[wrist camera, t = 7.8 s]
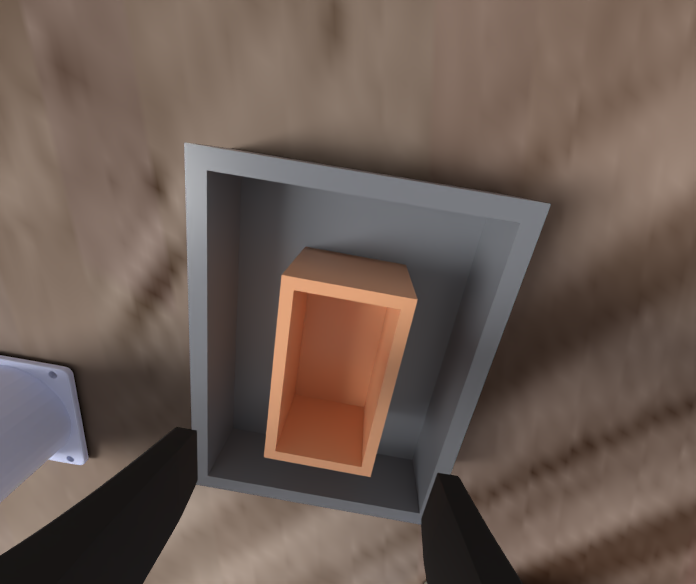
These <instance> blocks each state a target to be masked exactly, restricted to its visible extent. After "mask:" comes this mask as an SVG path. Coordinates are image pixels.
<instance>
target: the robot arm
mask: <svg viewBox="0 0 696 584" xmlns="http://www.w3.org/2000/svg"><path fill="white" fill-rule="evenodd" d="M88 458H89V457H88V451H87V446H86V440H85V435H84V430H83V424H82V419H81V413H80V408H79V402H78V397H77V391H76V386H75V380H74V375H73V372H72V370H71V369H69V368H68V367H65V366H59V365H54V364H48V363H42V362H37V361H31V360H25V359H19V358H14V357H8V356H2V355H0V503H1V502H2V501H3V500H4V499H5V498H6V497H7V496H8V495H9V494H11V493H12V492H13V491H14V490H15V489H16V488H17V487H18V486H19V485H21V484H22V483H23V482H24V481H25V480H26V479H27V478H28V477H29V476H31V475H32V474H33V473H34V472H35V471H36V470H37V469H38V468H39V467H41V466H42V465H43V464H44V463H45V462H46V461H47V460H54V461H59V462H65V463H70V464H76V465H83V464H84V463H85V462H86V461H87V460H88ZM197 481H198V461H197V430H191V429H185V428H180V427H176V428H175V429H173V430H172V431H171V432H169V433H168V434H167V435H166V436H164V437H163V438H162V439H161V440H159V441H158V442H157V443H156V444H154V445H153V446H152V447H151V448H149V449H148V450H147V451H146V452H144V453H143V454H142V455H141V456H139V457H138V458H137V459H136V460H134V461H133V462H132V463H130V464H129V465H128V466H127V467H125V468H124V469H123V470H121V471H120V472H119V473H117V474H116V475H115V476H114V477H112V478H111V479H110V480H108V481H107V482H106V483H104V484H103V485H102V486H100V487H99V488H98V489H96V490H95V491H94V492H92V493H91V494H90V495H88V496H87V497H86V498H84V499H83V500H81V501H80V502H79V503H77V504H76V505H74V506H73V507H71V508H70V509H69V510H67V511H66V512H64V513H63V514H62V515H60V516H59V517H57V518H56V519H55V520H53V521H52V522H50V523H49V524H47V525H46V526H44V527H43V528H42V529H40V530H39V531H37V532H36V533H34V534H33V535H31V536H30V537H28V538H27V539H25V540H24V541H22V542H21V543H19V544H17V545H16V546H14V547H13V548H11V549H10V550H8V551H7V552H5V553H3V554H2V555H0V584H143V582H144V581H145V579H146V577H147V575H148V574H149V572H150V570H151V569H152V567H153V565H154V563H155V562H156V560H157V558H158V557H159V555H160V553H161V551H162V550H163V548H164V546H165V544H166V543H167V541H168V539H169V537H170V536H171V534H172V532H173V531H174V529H175V527H176V525H177V523H178V522H179V520H180V518H181V516H182V514H183V512H184V510H185V507H186V505H187V503H188V501H189V499H190V497H191V494H192V492H193V490H194V488H195V485H196V483H197ZM421 527H422V544H423V558H424V566H425V573H426V579H427V584H523V583H522V581H521V580H520V578H519V577H518V575H517V574H516V572H515V570H514V569H513V567H512V566H511V564H510V562H509V561H508V559H507V558H506V556H505V554H504V553H503V551H502V550H501V548H500V546H499V545H498V543H497V542H496V540H495V538H494V537H493V535H492V533H491V532H490V530H489V528H488V527H487V525H486V523H485V521H484V520H483V518H482V516H481V515H480V513H479V511H478V509H477V508H476V506H475V504H474V503H473V501H472V499H471V497H470V496H469V494H468V492H467V490H466V488H465V487H464V485H463V483H462V481H461V480H460V478H459V477H458V476H454V475H449V474H443V473H437V475H436V478H435V481H434V484H433V487H432V490H431V492H430V495H429V498H428V501H427V504H426V507H425V509H424V512H423V515H422V518H421Z"/></svg>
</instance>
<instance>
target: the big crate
mask: <svg viewBox="0 0 696 584" xmlns="http://www.w3.org/2000/svg"><path fill="white" fill-rule="evenodd" d="M184 150H185V189H186V228H187V267H188V305H189V344H190V383H191V422H192V430H197V461H198V481H197V483H196V485H202V486H207V487H213V488H219V489H224V490H230V491H236V492H241V493H247V494H252V495H258V496H264V497H269V498H275V499H280V500H286V501H292V502H297V503H303V504H308V505H314V506H320V507H325V508H331V509H337V510H342V511H348V512H353V513H359V514H365V515H370V516H376V517H381V518H387V519H393V520H398V521H404V522H409V523H415V524H421V518H422V515H423V512H424V509H425V507H426V504H427V501H428V498H429V495H430V492H431V490H432V487H433V484H434V481H435V478H436V475H437V473H443V474H449V475H450V474H451V471H452V468H453V466H454V463H455V460H456V458H457V455H458V452H459V450H460V447H461V444H462V442H463V439H464V436H465V434H466V431H467V428H468V426H469V423H470V420H471V417H472V415H473V412H474V409H475V407H476V404H477V401H478V399H479V396H480V393H481V391H482V388H483V385H484V383H485V380H486V377H487V375H488V372H489V369H490V367H491V364H492V361H493V358H494V356H495V353H496V350H497V348H498V345H499V342H500V340H501V337H502V334H503V332H504V329H505V326H506V324H507V321H508V318H509V316H510V313H511V310H512V307H513V305H514V302H515V299H516V297H517V294H518V291H519V289H520V286H521V283H522V281H523V278H524V275H525V273H526V270H527V267H528V265H529V262H530V259H531V257H532V254H533V251H534V248H535V246H536V243H537V240H538V238H539V235H540V232H541V230H542V227H543V224H544V222H545V219H546V216H547V214H548V211H549V208H550V206H551V204H549V203H544V202H540V201H535V200H530V199H525V198H520V197H515V196H511V195H506V194H500V193H494V192H488V191H482V190H476V189H470V188H464V187H458V186H452V185H446V184H440V183H434V182H428V181H422V180H416V179H410V178H404V177H398V176H392V175H386V174H380V173H374V172H368V171H362V170H356V169H350V168H344V167H338V166H332V165H326V164H320V163H314V162H308V161H302V160H296V159H290V158H284V157H278V156H273V155H267V154H261V153H255V152H249V151H243V150H237V149H231V148H223V147H215V146H207V145H200V144H192V143H184ZM305 247H310V248H316V249H321V250H327V251H332V252H338V253H343V254H349V255H354V256H360V257H365V258H371V259H376V260H382V261H387V262H393V263H398V264H404V265H406V267H407V270H408V272H409V275H410V278H411V281H412V284H413V287H414V290H415V293H416V296H417V299H418V300H417V304H416V308H415V312H414V315H413V319H412V323H411V327H410V330H409V334H408V338H407V342H406V345H405V349H404V353H403V357H402V360H401V364H400V368H399V372H398V375H397V379H396V383H395V387H394V390H393V394H392V398H391V402H390V405H389V409H388V413H387V417H386V420H385V424H384V428H383V432H382V435H381V439H380V443H379V447H378V450H377V454H376V458H375V462H374V465H373V469H372V473H371V477H367V476H362V475H356V474H351V473H346V472H340V471H335V470H329V469H324V468H319V467H313V466H308V465H302V464H297V463H292V462H286V461H281V460H275V459H270V458H265V457H264V450H265V440H266V430H267V420H268V409H269V399H270V389H271V378H272V368H273V358H274V348H275V337H276V327H277V317H278V307H279V296H280V286H281V276H282V274H283V273H284V271H285V270H286V269H287V268H288V267H289V266H290V264H291V263H292V262H293V261H294V260H295V258H296V257H297V256H298V255H299V254H300V253H301V251H302V250H303V249H304V248H305Z"/></svg>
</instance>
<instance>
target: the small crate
mask: <svg viewBox="0 0 696 584" xmlns="http://www.w3.org/2000/svg"><path fill="white" fill-rule="evenodd" d="M417 300H418V299H417V296H416V293H415V290H414V287H413V284H412V281H411V278H410V275H409V272H408V270H407V267H406V265H404V264H398V263H393V262H387V261H382V260H376V259H371V258H365V257H360V256H354V255H349V254H343V253H338V252H332V251H327V250H321V249H316V248H310V247H305V248H304V249H303V250H302V251H301V253H300V254H299V255H298V256H297V257H296V258H295V260H294V261H293V262H292V263H291V264H290V266H289V267H288V268H287V269H286V270H285V271H284V273H283V274H282V276H281V286H280V296H279V307H278V317H277V327H276V337H275V348H274V358H273V368H272V378H271V389H270V399H269V409H268V420H267V430H266V440H265V450H264V457H265V458H270V459H275V460H281V461H286V462H292V463H297V464H302V465H308V466H313V467H319V468H324V469H329V470H335V471H340V472H346V473H351V474H356V475H362V476H367V477H371V473H372V469H373V465H374V462H375V458H376V454H377V450H378V447H379V443H380V439H381V435H382V432H383V428H384V424H385V420H386V417H387V413H388V409H389V405H390V402H391V398H392V394H393V390H394V387H395V383H396V379H397V375H398V372H399V368H400V364H401V360H402V357H403V353H404V349H405V345H406V342H407V338H408V334H409V330H410V327H411V323H412V319H413V315H414V312H415V308H416V304H417Z"/></svg>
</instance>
